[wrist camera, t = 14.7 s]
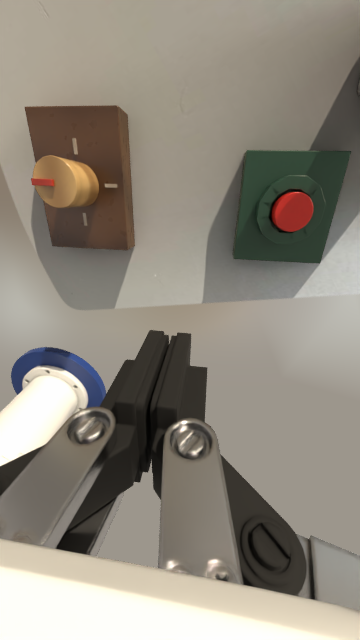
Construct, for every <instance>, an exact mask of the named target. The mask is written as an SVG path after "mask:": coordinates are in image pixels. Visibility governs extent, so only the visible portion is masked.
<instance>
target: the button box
mask: <svg viewBox="0 0 360 640" xmlns="http://www.w3.org/2000/svg"><path fill="white" fill-rule="evenodd" d="M350 154H351V151H263V150H247V151H246V153H245V156H244V164H243V172H242V181H241V189H240V198H239V206H238V215H237V223H236V231H235V240H234V248H233V258H234V259H247V260H266V261H284V262H302V263H320V262H321V258H322V254H323V251H324V247H325V244H326V240H327V236H328V233H329V229H330V226H331V222H332V219H333V215H334V211H335V208H336V204H337V201H338V197H339V193H340V190H341V186H342V183H343V179H344V176H345V172H346V168H347V165H348V161H349V158H350ZM290 192H302V193H305V194H306V195H308V196H309V197H310V198H311V200H312V203H313V214H312V217H311V219H310V221H309V222H308V223H307V224H306V225H305V226H304V227H303V228H301V229H300V230H297V231H293V232H288V231H284V230H282V229H280V228H278V227H277V226H276V225H275V224H274V223H273V220H272V216H271V213H272V208H273V206H274V204H275V202H276V201H277V200H278V199H279V198H280V197H281V196H282V195H284V194H286V193H290Z"/></svg>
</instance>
